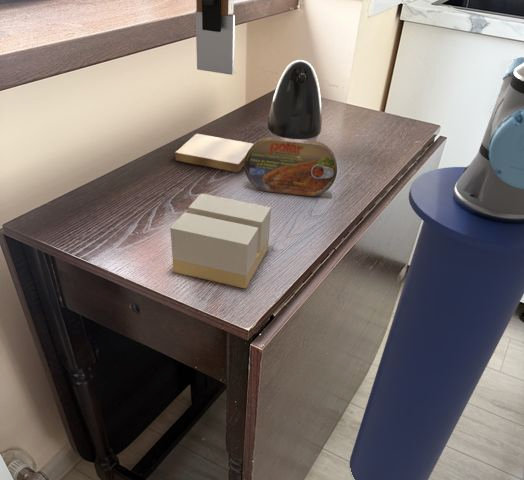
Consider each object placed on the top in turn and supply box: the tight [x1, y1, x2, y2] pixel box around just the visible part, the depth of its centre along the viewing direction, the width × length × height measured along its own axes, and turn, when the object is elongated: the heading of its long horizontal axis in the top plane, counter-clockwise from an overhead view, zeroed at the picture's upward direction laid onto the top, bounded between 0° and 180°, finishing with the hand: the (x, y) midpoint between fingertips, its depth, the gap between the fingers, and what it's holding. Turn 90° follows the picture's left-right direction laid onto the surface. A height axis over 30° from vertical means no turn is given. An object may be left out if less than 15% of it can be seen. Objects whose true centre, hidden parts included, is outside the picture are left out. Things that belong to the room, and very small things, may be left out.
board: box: [174, 133, 254, 173], centre depth 93 cm, size 12×10×2 cm
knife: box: [195, 0, 236, 76], centre depth 76 cm, size 6×2×14 cm, turn 73°
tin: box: [243, 136, 338, 197], centre depth 83 cm, size 15×3×8 cm, turn 82°
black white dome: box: [267, 59, 323, 141], centre depth 94 cm, size 10×10×15 cm
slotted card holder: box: [169, 193, 272, 290], centre depth 67 cm, size 10×10×6 cm
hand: (215, 28), depth 77 cm, fingers closed on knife, 2 cm apart
